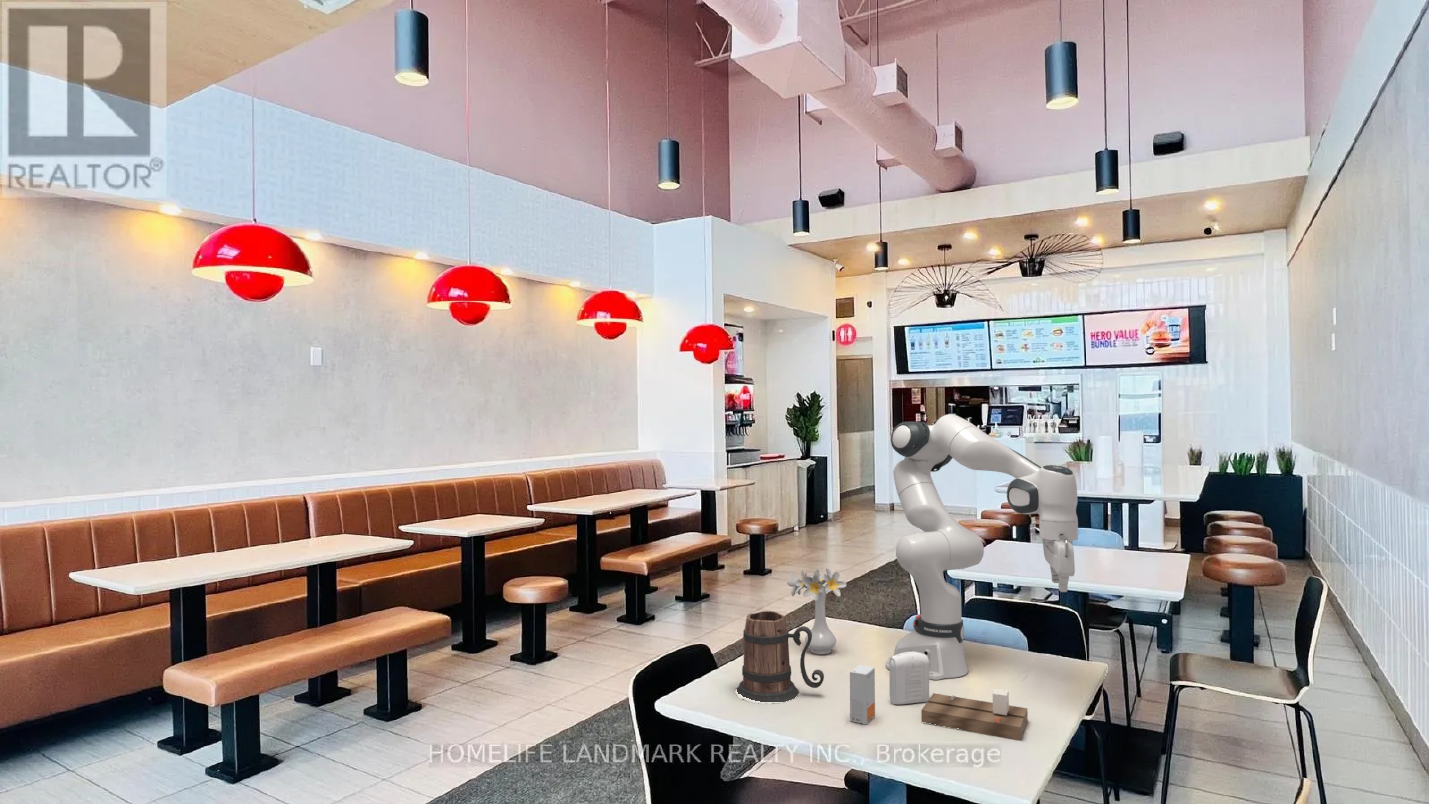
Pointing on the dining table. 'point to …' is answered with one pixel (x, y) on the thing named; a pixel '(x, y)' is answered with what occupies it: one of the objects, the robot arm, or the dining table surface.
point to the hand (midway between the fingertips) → (1059, 586)
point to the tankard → (771, 659)
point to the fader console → (974, 716)
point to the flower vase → (818, 606)
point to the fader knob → (1000, 701)
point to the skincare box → (862, 694)
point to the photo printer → (909, 678)
